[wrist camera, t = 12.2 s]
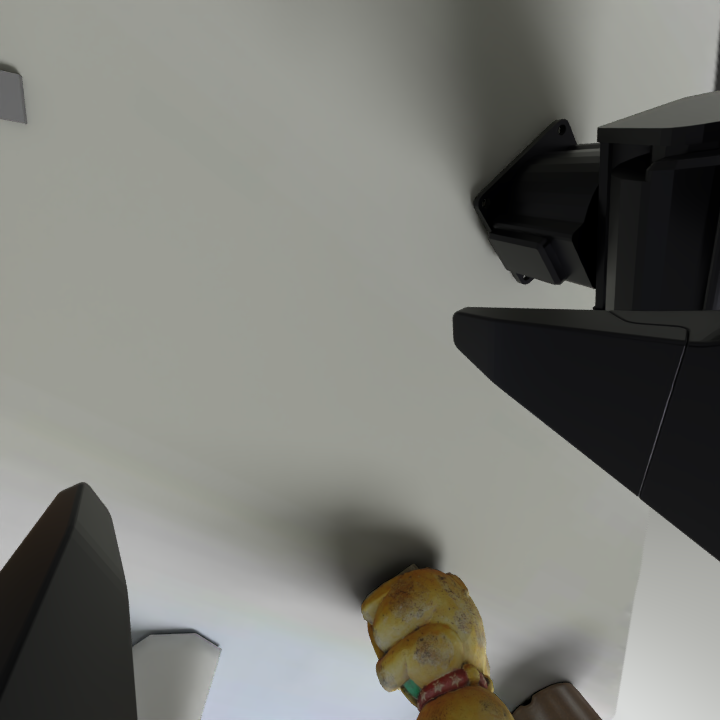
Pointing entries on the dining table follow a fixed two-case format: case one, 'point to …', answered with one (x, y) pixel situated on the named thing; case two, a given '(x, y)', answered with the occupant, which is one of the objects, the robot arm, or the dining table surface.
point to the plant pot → (557, 705)
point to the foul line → (12, 97)
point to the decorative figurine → (432, 646)
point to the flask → (173, 675)
